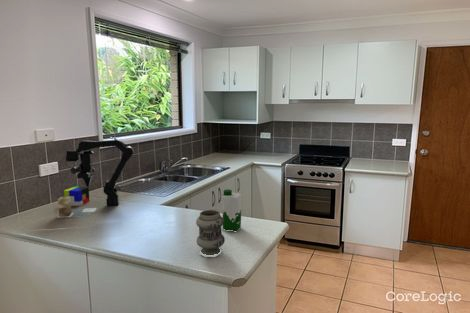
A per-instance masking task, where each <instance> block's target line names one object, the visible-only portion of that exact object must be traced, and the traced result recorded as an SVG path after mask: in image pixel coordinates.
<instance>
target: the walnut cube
mask: <svg viewBox="0 0 470 313" xmlns="http://www.w3.org/2000/svg"><path fill="white" fill-rule="evenodd" d="M71 210H72V205H71V206H69V207H68V208H59V207H58V215H59V217H64V218H67V217H66V216H70V215H71V214H72V211H71Z"/></svg>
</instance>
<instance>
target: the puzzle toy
mask: <svg viewBox="0 0 470 313" xmlns="http://www.w3.org/2000/svg"><path fill="white" fill-rule="evenodd" d="M89 188H90V187H87V186H72V187H70V188H67V189H64V190H63V192H64V196H63V197H70V199H71V207H72V206H73V207H74V206H75V207H80V206H83V205H85V204H86V203H89V202H90V189H89Z"/></svg>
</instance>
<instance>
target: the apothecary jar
mask: <svg viewBox="0 0 470 313" xmlns="http://www.w3.org/2000/svg"><path fill="white" fill-rule="evenodd" d="M195 220H196V221H195V224H196V226H197V227H198V232H199V233H198V236H197V238H196V244H197V246H198V247H200V248H201V249H200V250H201V252H202V253H203V254H206V255H214V254H218V253H219V252H220V249H221V247H222V246H223V245H224V244H225V241H226V240H225V236H224V235H223V234H222V227H223V224H224V219H223V216H221V212H220V211H219V210H216V209H206V210H205V209H204V210H203V211H200V212H199V216H198V217H197V218H196V219H195ZM219 248H220V249H219Z"/></svg>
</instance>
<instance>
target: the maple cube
mask: <svg viewBox="0 0 470 313" xmlns="http://www.w3.org/2000/svg"><path fill="white" fill-rule="evenodd" d="M57 205H58V206H57V207H58V209H59V208H68V207H69V206H71V207H72V205H71V199H70V197H65V196H61V197H59V198H58V199H57Z"/></svg>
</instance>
